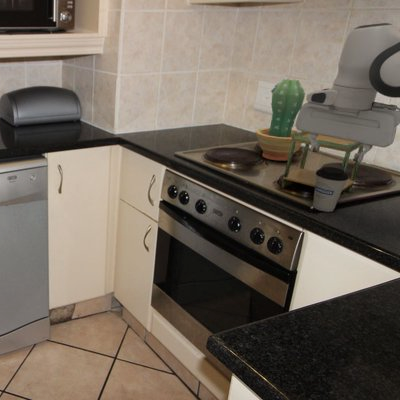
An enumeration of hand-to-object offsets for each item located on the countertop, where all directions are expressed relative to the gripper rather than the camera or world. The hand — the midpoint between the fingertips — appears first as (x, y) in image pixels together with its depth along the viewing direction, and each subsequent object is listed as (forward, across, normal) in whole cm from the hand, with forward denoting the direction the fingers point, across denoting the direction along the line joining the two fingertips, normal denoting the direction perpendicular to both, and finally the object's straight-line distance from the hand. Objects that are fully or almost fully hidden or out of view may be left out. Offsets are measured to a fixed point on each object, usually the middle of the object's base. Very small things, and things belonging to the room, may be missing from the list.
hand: (335, 156), depth 114 cm
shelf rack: (+13, +6, -12) cm, 19 cm away
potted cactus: (+14, +26, -34) cm, 45 cm away
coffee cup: (+14, 0, 0) cm, 14 cm away
